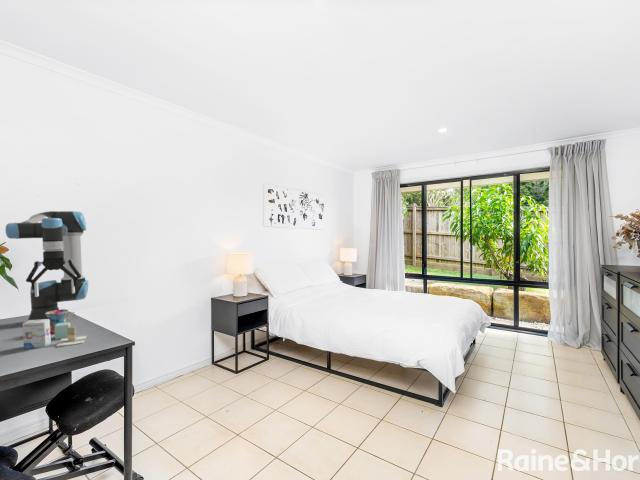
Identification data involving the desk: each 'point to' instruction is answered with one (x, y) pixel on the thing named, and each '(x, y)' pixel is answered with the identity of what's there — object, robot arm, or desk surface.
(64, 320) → the mug
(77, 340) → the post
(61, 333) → the mint green block
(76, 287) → the robot arm
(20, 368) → the desk surface
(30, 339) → the ink box
